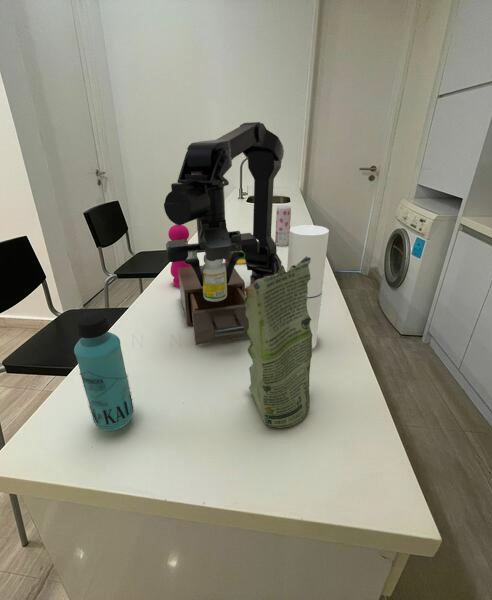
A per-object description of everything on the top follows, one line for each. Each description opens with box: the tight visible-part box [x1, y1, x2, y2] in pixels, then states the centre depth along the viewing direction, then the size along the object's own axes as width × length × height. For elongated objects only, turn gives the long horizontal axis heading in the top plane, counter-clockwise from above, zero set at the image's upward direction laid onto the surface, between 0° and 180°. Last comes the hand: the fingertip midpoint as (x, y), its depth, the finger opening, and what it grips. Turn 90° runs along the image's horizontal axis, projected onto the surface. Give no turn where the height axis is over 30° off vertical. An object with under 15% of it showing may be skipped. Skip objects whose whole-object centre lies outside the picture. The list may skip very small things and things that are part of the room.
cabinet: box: [178, 262, 246, 327], centre depth 86 cm, size 15×15×10 cm
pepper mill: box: [167, 223, 192, 289], centre depth 99 cm, size 7×7×20 cm
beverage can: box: [274, 205, 292, 247], centre depth 132 cm, size 6×6×15 cm
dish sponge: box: [235, 252, 246, 265], centre depth 122 cm, size 7×14×2 cm, turn 0°
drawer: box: [189, 287, 250, 346], centre depth 75 cm, size 18×13×8 cm
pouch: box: [244, 256, 313, 429], centre depth 51 cm, size 11×12×25 cm
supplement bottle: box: [201, 254, 227, 302], centre depth 71 cm, size 5×5×10 cm
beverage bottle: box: [73, 311, 135, 432], centre depth 49 cm, size 6×7×20 cm
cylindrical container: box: [286, 224, 330, 350], centre depth 67 cm, size 7×7×25 cm
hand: (214, 284), depth 72 cm, fingers closed on supplement bottle, 5 cm apart
